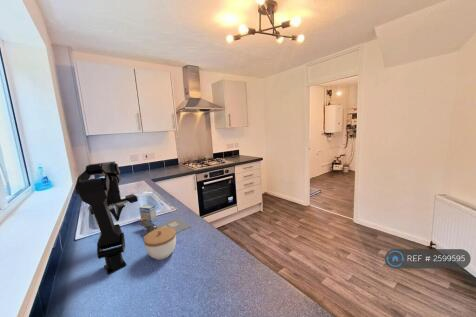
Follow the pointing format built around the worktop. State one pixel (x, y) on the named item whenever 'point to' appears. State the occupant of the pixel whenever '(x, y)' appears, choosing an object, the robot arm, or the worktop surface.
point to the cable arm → (148, 224)
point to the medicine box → (148, 212)
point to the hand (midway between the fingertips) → (117, 220)
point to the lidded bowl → (160, 242)
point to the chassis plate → (173, 225)
